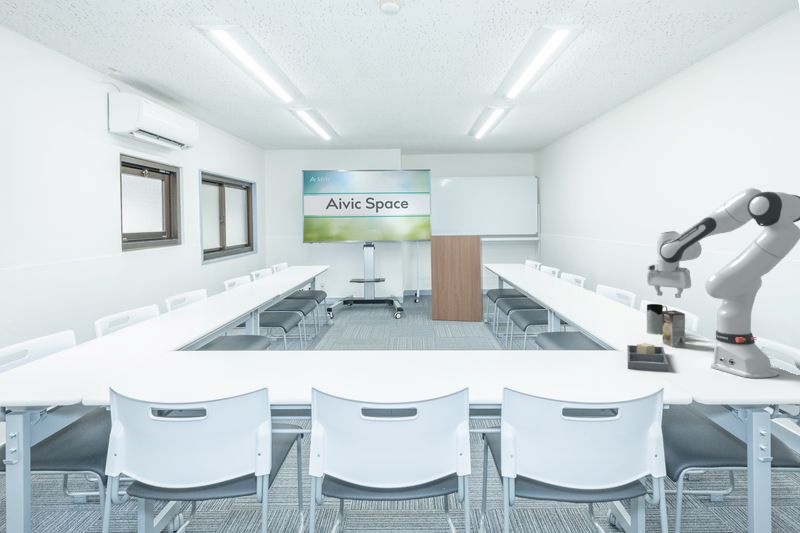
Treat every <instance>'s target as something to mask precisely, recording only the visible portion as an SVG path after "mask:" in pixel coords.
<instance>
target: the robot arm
mask: <svg viewBox="0 0 800 533" xmlns="http://www.w3.org/2000/svg"><path fill="white" fill-rule="evenodd" d="M752 219H753V220H755V222H756V224H757V225H759V226H760V227H763V230H762V231H761V233H760V234H758V235H757V237H756V238H755V239H753V241H752V242H751V243H750V244H749V245H748V246H747V247H746V248H745V249H744V250H743V251H742V252H741V253H740V254H739V255H738V256H737V257H735V258H733V259H732V260H731V261H730V262H728V263H727V264H726V265H724V267H722V268H721V269H719V271H717V272H714V274H711V275H710V276H709V277H708V278H707V279H706V280H705V284H704V286H705V290H706V293H707V294H708V295H709V296H710V297H712V298H713V299H718V300H722V303H721V305H720V307H719V308H718V310H717V313H716V326H717V328H716V331H715V340H716V344H715V346H714V350H713V360H712V363H711V365H710V368H712V369H715V370H719V371H721V372H726V373H729V374H732V375H736V376H740V377H743V378H748V379H749V378H752V379H758V378H761V379H762V378H774V377H777V376H780V375H779V371H777V370H775V369H772V367H771V361H770V358H769V356H768V355H767V354H766V353H764V352H763V351H762V349H761V348H760V347H759V346H758V345H757V344H756V342H755V341H757V338H758V337H757V336H754V335H753V332H752V311H753V306H754V303H755V300H756V296H757V293H758V291H760V289H761V287H762V285H763V284H762V283H763V281H762V277H763V276H765V275H767V274H768V273H770V272H771V271H772V270H773V269H774V268H775V267H776V266H777V265H778V264H779V263H780V262H781V261H783V259H784V258H785V257H786V256H787V255H788V254H789V253H790V252H791V251H792V250H793V248H794V247H796V245H797V243H798V242H799V241H800V227H799V225H797V224H795V223H796V222H799V221H800V196H798V195H797V194H790V193H787V192H780V191H761V190H760V189H758V188H753V187H751V188H750V187H749V188H747V189H744V190H742V191H740V192H739V193H737V194H735V195H734V196H731V198H729V199H728V200H727V201H726V202H724V203H723V204H722V205H720V206H719V207H717V208H716V209H715V210H714V211H712V212H711V213H710V214H708V215H707V216H705V217H704V218H703V219H701V220H699V222H697V223H695V224H694V225H692V226H691V227H690V228H688V229H687V230H684V232H681V234H680V233H679V232H678V231H674V230H673V231H665V232H662V233H660V234H659V235H658V237H657V244H656V253H657V260H656V263H654V264H651V265H650V264H649V265H648V266H647V270H648V271H647V276H646V282H647V284H648V286H654V290H655V291H656V296H659V297H660V296H661V297H662V296H663V291H662V290H661V289H660V288H661V287H663V288H673V289H676V290H677V293H675V294H674V295H675V296H674V297H675V298H676V299H680V298H681V297H682V293H683V292H684V289H691V287H692V280H691V279H692V278H691V272H690V270H689V269H688V268H686V267H681V266H680V262H685V261H686V262H687V261H692V260H695V259H698V258H699V257H700V255H701V253H702V245H701V242H700V241H701V240H703V239H705V238H708V237H711V236H715V235H719V234H720V235H721V234H725V233H731V232H732V231H735V230H737V229H739V228H741V227H743V226H745V225H746V224H747V223H749V222H750V221H751V220H752Z"/></svg>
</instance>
